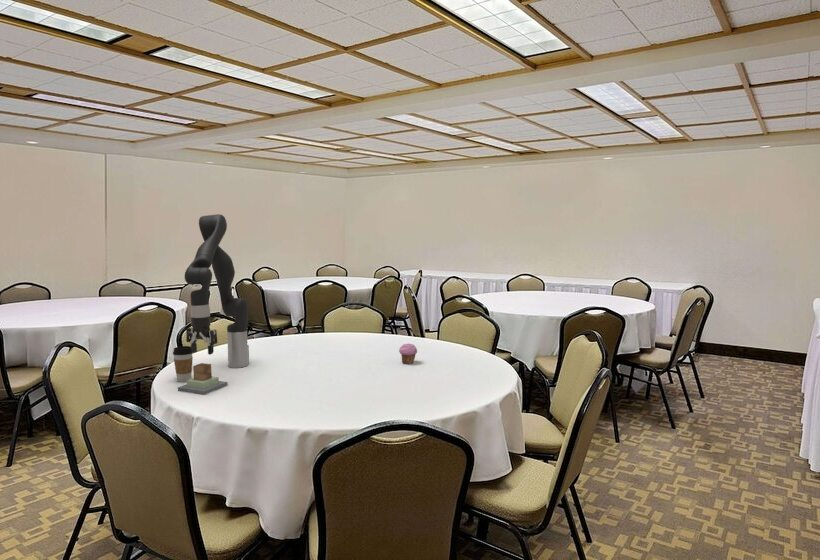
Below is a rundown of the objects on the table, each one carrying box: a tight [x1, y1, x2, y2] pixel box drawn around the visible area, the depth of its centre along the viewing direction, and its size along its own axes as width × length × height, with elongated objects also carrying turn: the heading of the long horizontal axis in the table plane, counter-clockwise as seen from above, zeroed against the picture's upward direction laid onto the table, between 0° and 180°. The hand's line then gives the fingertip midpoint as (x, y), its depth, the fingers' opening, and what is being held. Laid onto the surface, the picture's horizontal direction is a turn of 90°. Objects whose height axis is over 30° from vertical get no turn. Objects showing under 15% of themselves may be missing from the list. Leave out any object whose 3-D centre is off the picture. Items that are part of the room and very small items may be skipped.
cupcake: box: [398, 343, 418, 365], centre depth 275 cm, size 9×9×10 cm
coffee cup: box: [172, 345, 194, 383], centre depth 245 cm, size 8×8×15 cm
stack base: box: [177, 375, 229, 396], centre depth 234 cm, size 14×14×4 cm
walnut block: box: [192, 362, 213, 381], centre depth 233 cm, size 5×5×6 cm
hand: (202, 353), depth 232 cm, fingers open, 8 cm apart
